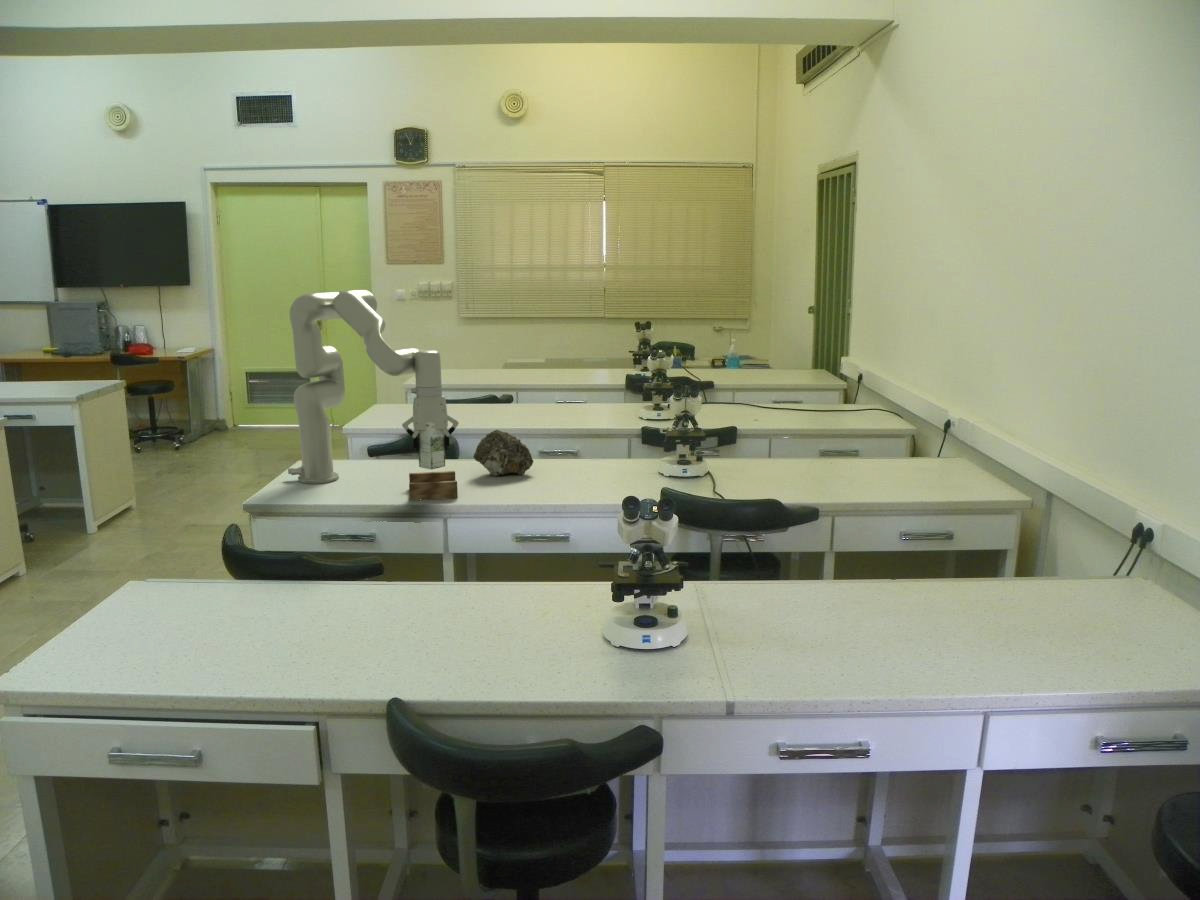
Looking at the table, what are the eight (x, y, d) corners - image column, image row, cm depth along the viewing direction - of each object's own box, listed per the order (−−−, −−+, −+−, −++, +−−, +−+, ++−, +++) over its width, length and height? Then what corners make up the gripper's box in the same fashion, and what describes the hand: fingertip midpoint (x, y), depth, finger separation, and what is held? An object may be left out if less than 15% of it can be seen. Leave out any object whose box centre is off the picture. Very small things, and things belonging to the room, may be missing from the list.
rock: (494, 427, 290) (499, 411, 304) (466, 458, 294) (471, 441, 308) (538, 463, 295) (540, 445, 309) (509, 493, 299) (513, 474, 313)
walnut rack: (409, 500, 269) (409, 484, 268) (409, 488, 282) (409, 473, 281) (457, 498, 272) (457, 481, 271) (455, 486, 285) (454, 470, 284)
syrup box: (433, 463, 279) (431, 417, 276) (446, 466, 275) (444, 419, 272) (418, 467, 275) (416, 420, 272) (431, 470, 271) (429, 422, 268)
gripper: (398, 395, 265) (402, 453, 269) (459, 392, 268) (461, 450, 272) (399, 391, 272) (402, 448, 276) (457, 389, 276) (460, 445, 279)
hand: (431, 449), depth 274 cm, fingers closed on syrup box, 8 cm apart
